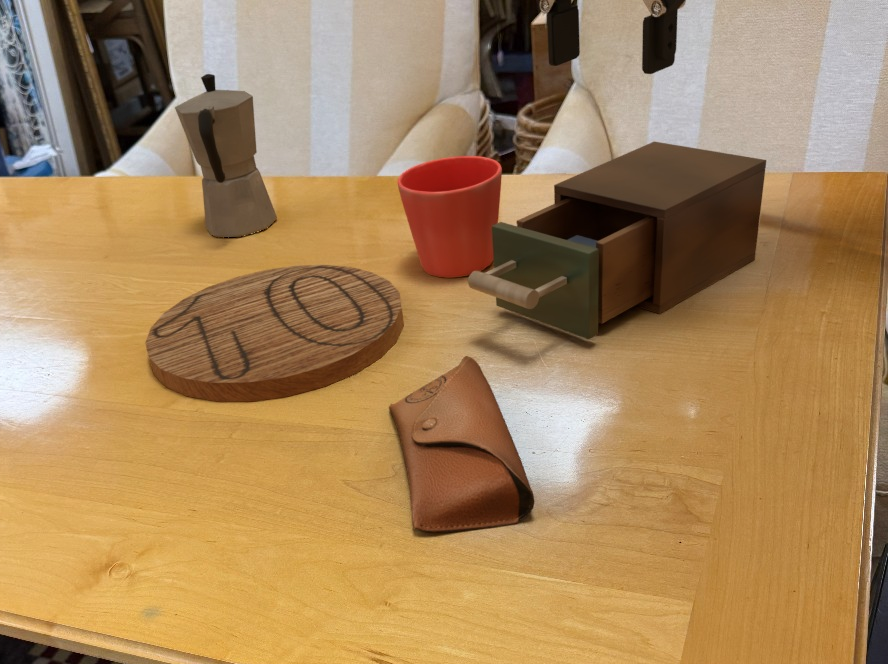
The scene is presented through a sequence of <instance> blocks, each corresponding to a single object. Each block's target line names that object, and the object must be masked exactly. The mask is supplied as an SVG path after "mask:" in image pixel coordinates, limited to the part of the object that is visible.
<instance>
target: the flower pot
mask: <svg viewBox="0 0 888 664" xmlns="http://www.w3.org/2000/svg"><path fill="white" fill-rule="evenodd" d="M502 175H503V169H502V164H500V162H498V161H497V160H495V159H493V158H491V157H490V158H489V157H486V156H478V155H477V156H476V155H471V156H470V155H462V156H461V155H460V156H459V155H458V156H450V157H444V158H438V159H433V160H429V161H426V162H421V163H419V164H416V165H414V166H412V167H410V168H408V169H406V170H405V171H404V172H402V173H401V174H400V175H399V176H398V177H397V187H398V192H399V196H400V200H401V203H402V206H403V210H404V213H405V217H406V220H407V222H408V226H409V229H410V233H411V236H412V239H413V242H414V245H415V249H416V252H417V255H418V259H419V263H420V265H421V267H422V270H424V271H425V273H427V274H428V275H431V276H433V277H438V278H447V279H449V278H461V277H467V276H470V274H471V273H472V272H473V271H480V272H483V271H484V270H485V269H486V268H487V267H489V266H491V265H492V263H494V258H493V242H492V226H493V225H495V224H497V223H499V215H500V214H499V213H500V203H501V202H500V201H501V191H502V178H503V177H502Z"/></svg>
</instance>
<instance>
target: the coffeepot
mask: <svg viewBox="0 0 888 664" xmlns="http://www.w3.org/2000/svg"><path fill="white" fill-rule="evenodd" d="M200 80H201V82H202V84H203V87H204V89H205V92H202V93H200V94H198V95H196V96H193V97H191V98H189V99H187V100H185V101H184V102H181V103H180V104H177V105H176V106H174V110H175V112H176V114H177V117H178V119H179V122H180V125H181V127H182V129H183V132H184V134H185V137H186V140H187V142H188V144H189V147H190V149H191V152H192V154H193V157H194V160H195V161H196V163H197V164H198V165H199V166H200V170H201V173H202V179H201V185H202V186H201V187H202V199H203V206H204V207H203V210H204V211H203V212H204V220H205V221H204V223H205V228H206V230H207V231H208V233H209V235H211V236H212V235H213V236H212V237H214V238H219V237H223V238H222V239H225V238H224V237H228V238H227V239H230V238H229V237H237V238H242V237H241V236H243V237H245V236H244V235H248V234H251V233H254V232H257V231H260V230H263V231H265V230H267V229H268V228H267V227H269V226H270V225H271V224H272V223H273V222H274V221H276V220H277V219H278V216H277V214H276V211H275V208H274V206H273V203H272V201H271V198H270V195H269V192H268V190H267V187H266V185H265V182H264V180H263V177H262V174H261V171H260V170H259V169H258V167H257V164H256V160H255V155H256V154H257V152H258V151H257V139H256V122H255V110H254V96H253V95H252V94H250V93H249V92H247V91H245V90H231V89H230V90H229V89H216V75H215V74H211V73H206V74H204V75H203V76H201V77H200ZM274 223H275V222H274ZM274 223H273V224H274ZM273 224H272V225H273ZM272 225H271V226H272ZM271 226H270V227H271ZM270 227H269V228H270ZM266 228H267V229H266ZM264 229H265V230H264ZM248 236H249V235H248Z"/></svg>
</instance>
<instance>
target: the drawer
mask: <svg viewBox="0 0 888 664" xmlns="http://www.w3.org/2000/svg"><path fill="white" fill-rule="evenodd" d="M657 218H658V217H654V216H650V215H646V214H641V213H637V212H633V211H629V210H624V209H620V208H616V207H611V206H607V205H603V204H599V203H594V202H590V201H586V200H581V199H577V198H573V197H568V198H566V199H564V200H562V201H560V202H557V203H555V202H554V203H553V204H551V205H549V206H546V207H543V208H541V209H540V210H537V211H535V212H533V213H531V214H528V215H526V216H524V217H522V218H520V219H517V220H516V225H513V224H510V223H507V222H503V221H498V223H497V224H495V225H493V226H492V242H493V258H494V259H493V268H492V269H490V270H488V271H486V272H483V271H473V272H472V273H471V274H470V275H468V280H467V284H468V287H469V288H470V289H471V290H474V291H477V292H480V293H483V294H486V295H489V296H492V297H494V298H495V305H496V306H497V307H498V308H502V309H504V310H507V311H510V312H513V313H515V314H518V315H520V316H524V317H526V318H529V319H532V320H534V321H537V322H540V323H542V324H545V325H548V326H551V327H553V328H556V329H558V330H560V331H561V330H562V331H565V332H567V333H570V334H573V335H576V336H578V337H581V338H584V339H586V340H591V339H593V338H595V337H597V336H599V324H604V323H606V322H608V321H609V320H611V319H613V318H615V317H617V316H619V315H621V314H622V313H624V312H626V311H628V310H630V309H632V308H633V307H636V306H635V305H637V304H638V303H640V302H642V301H644V300H646V299H648V298H649V297H651V296H653V295H654V275H655V254H656V233H657ZM576 235H578V236H582V237H586V238H590V239H593V240H597V242H596V248H594V247H590V246H586V245H583V244H579V243H575V242H572V241H568V239H570V238H572V237H574V236H576Z"/></svg>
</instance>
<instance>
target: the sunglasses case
mask: <svg viewBox="0 0 888 664" xmlns="http://www.w3.org/2000/svg"><path fill="white" fill-rule="evenodd" d="M481 368H482V367H481V366H480V364H479V363H478V361H477V360H475V358H473V357H471V356H468V355H466V356H464V357H463V358H462V359H461V361H460V362H459V364H458V365H457V366H455V367H453V368H452V369H450V370H448V371H447V372H445V373H443V374H441V375H440V376H438V377H437V378H435V379H433V380H432V381H430V382H428V383H426V384H425V385H423V386H421V387H420V388H418V389H417V390H415V391H413V392H411V393H409V394H408V395H406V396H405V397H404V398H402V399H400V400H398V401H397V402H395V403H390V404H389V406H388V409H389V413H390V414H391V417H392V419H393V421H394V423H395V426H396V429H397V432H398V436H399V440H400V443H401V444H400V445H401V448H402V453H403V457H404V458H403V459H404V463H405V467H406V473H407V474H406V475H407V478H408V485H409V490H410V492H409V493H410V505H411V518H412V526H413V529H414V530H417V531H420V532H423V533H450V532H451V533H453V532H463V531H464V532H467V531H473V530H482V529H488V528H497V527H503V526H510V525H516V524H518V523H520V522H521V521H523V520H525V519H526V518H527V517H528V516H529V515H530V514H531V512H532V511H533V510H534V506H535V502H536V501H535V496H534V492H533V490H532V487H531V484H530V481H529V479H528V476H527V473H526V470H525V467H524V464H523V461H522V459H521V456H520V455H519V452H518V449H517V447H516V444H515V442H514V439H513V437H512V435H511V432H510V430H509V428H508V425H507V423H506V419H505V418H504V415H503V413H502V410H501V408H500V406H499V403H498V401H497V398H496V396H495V394H494V391H493V389H492V387H491V385H490V383H489V381H488V379H487V378H486V376H485V374H484V372H483V370H482V369H481Z"/></svg>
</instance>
